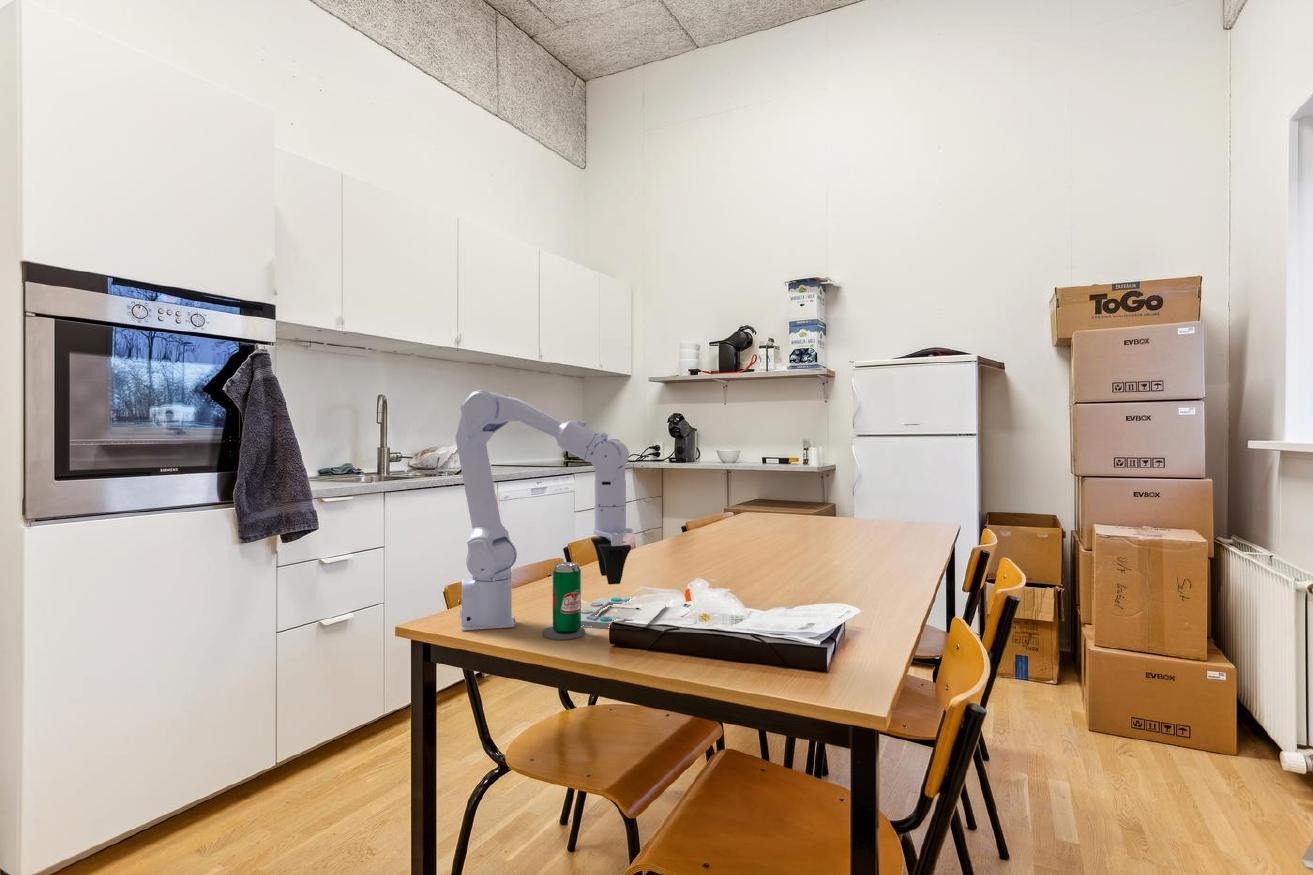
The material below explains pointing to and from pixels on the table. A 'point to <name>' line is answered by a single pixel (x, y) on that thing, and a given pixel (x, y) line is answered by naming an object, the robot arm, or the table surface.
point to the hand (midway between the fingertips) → (610, 579)
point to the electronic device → (594, 608)
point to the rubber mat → (553, 635)
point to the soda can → (566, 598)
